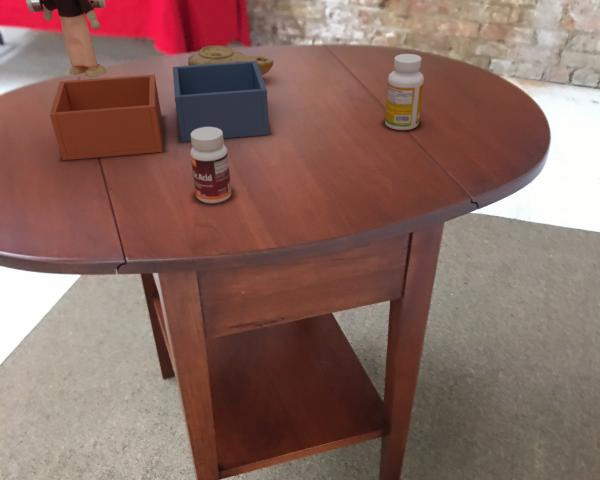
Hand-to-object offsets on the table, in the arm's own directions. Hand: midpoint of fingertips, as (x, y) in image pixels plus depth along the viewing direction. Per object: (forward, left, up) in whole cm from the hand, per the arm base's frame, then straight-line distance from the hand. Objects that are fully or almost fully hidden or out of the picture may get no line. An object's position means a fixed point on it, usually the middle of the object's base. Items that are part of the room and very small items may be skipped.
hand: (67, 7), depth 73 cm
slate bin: (+17, +18, -21) cm, 33 cm away
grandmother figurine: (0, +1, -7) cm, 7 cm away
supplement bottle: (+45, +11, -22) cm, 51 cm away
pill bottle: (+14, -7, -22) cm, 27 cm away
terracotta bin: (0, +15, -21) cm, 26 cm away
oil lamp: (+20, +37, -22) cm, 48 cm away
